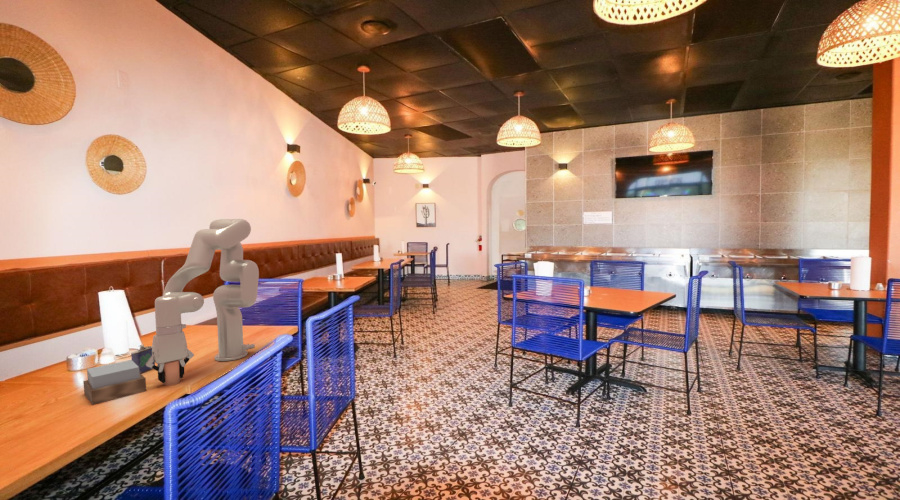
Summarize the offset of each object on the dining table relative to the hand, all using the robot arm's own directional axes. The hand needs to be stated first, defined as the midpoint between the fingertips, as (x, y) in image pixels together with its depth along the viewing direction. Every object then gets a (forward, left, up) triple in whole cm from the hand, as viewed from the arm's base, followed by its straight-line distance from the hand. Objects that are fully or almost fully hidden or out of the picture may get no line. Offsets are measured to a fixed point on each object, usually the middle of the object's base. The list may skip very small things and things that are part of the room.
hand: (171, 378), depth 143 cm
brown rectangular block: (0, 0, -2) cm, 2 cm away
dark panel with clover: (+3, -23, -2) cm, 23 cm away
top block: (+15, -6, +3) cm, 17 cm away
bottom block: (+15, -6, -2) cm, 16 cm away
